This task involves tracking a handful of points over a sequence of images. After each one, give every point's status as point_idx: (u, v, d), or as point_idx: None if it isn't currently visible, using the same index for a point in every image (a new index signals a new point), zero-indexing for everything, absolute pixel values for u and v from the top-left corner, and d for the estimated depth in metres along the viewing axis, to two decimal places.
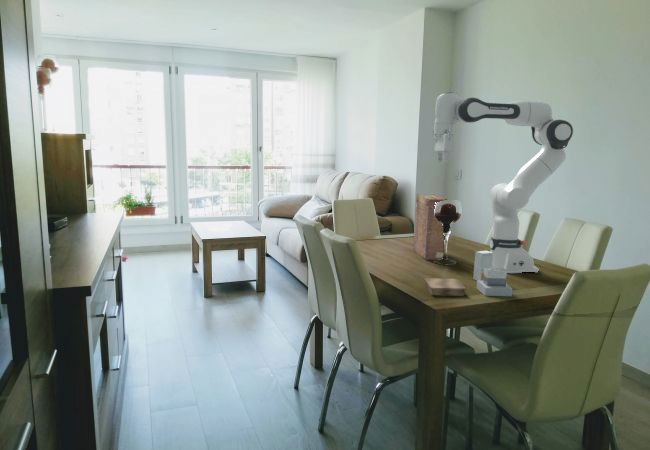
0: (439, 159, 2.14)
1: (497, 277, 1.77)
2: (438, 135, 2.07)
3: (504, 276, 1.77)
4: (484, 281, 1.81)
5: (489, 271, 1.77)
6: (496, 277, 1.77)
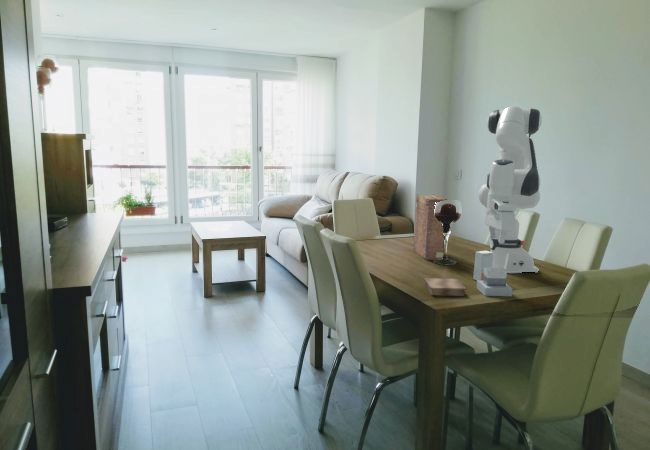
0: None
1: (497, 277, 1.77)
2: None
3: (504, 276, 1.77)
4: (484, 281, 1.81)
5: (489, 271, 1.77)
6: (496, 277, 1.77)
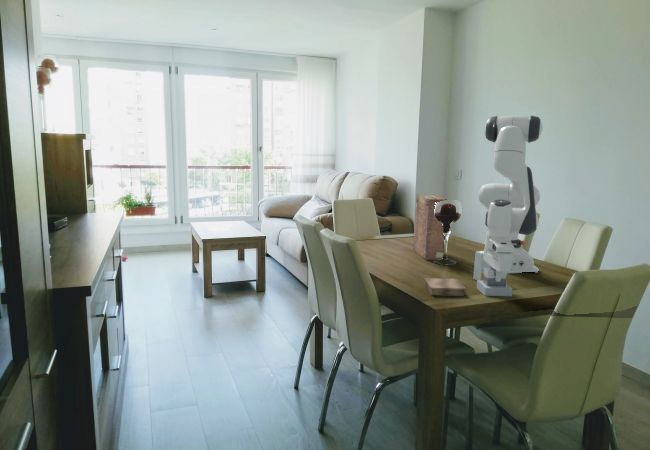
0: None
1: None
2: None
3: (504, 276, 1.77)
4: (484, 281, 1.81)
5: (489, 271, 1.77)
6: None
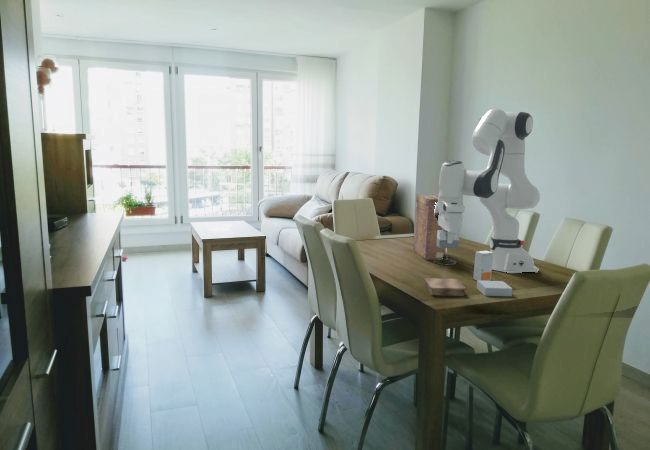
0: None
1: None
2: None
3: (456, 238, 1.75)
4: (437, 244, 1.78)
5: (441, 233, 1.74)
6: None
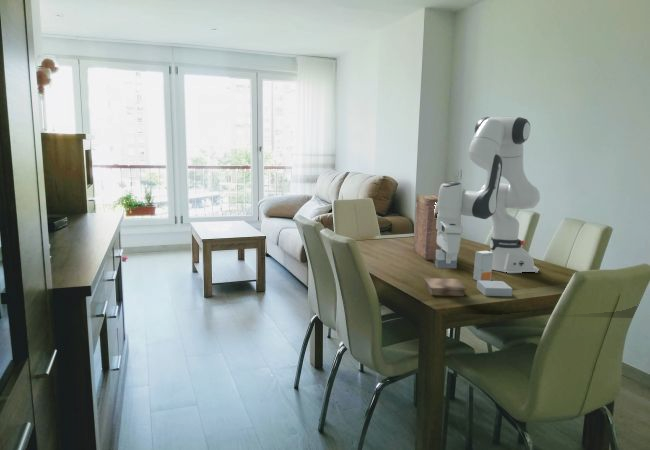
0: None
1: None
2: None
3: (455, 258, 1.76)
4: (435, 263, 1.80)
5: (439, 253, 1.76)
6: None
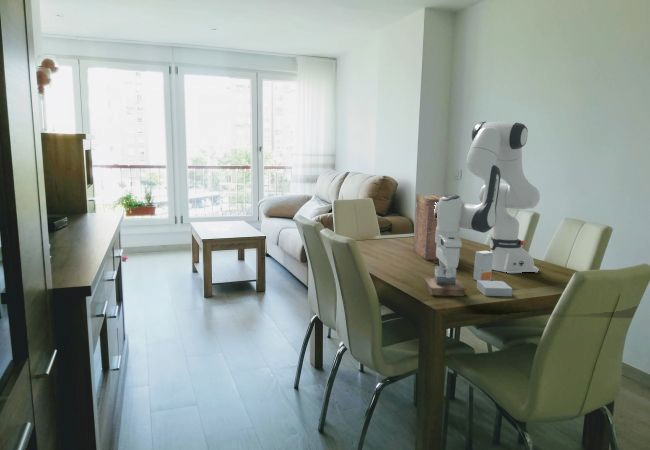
0: None
1: None
2: None
3: (454, 275, 1.77)
4: (435, 280, 1.81)
5: (438, 270, 1.77)
6: (445, 276, 1.77)
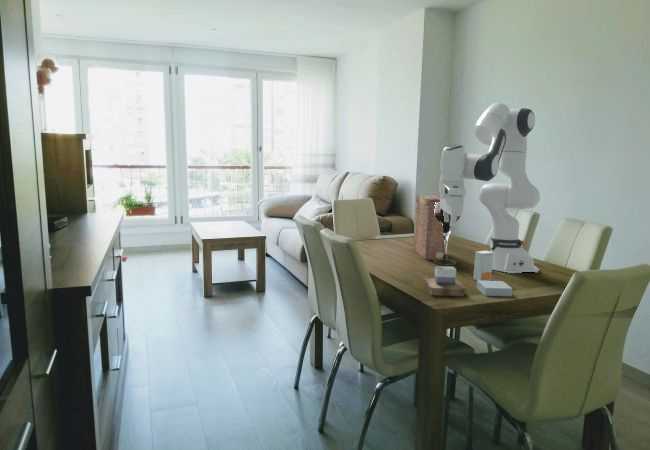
0: None
1: (447, 276, 1.77)
2: None
3: (454, 275, 1.77)
4: (435, 280, 1.81)
5: (438, 270, 1.77)
6: (445, 276, 1.77)
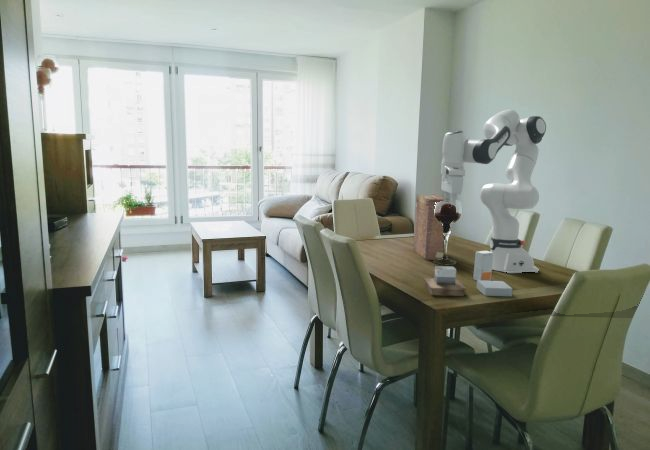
0: None
1: (447, 276, 1.77)
2: None
3: (454, 275, 1.77)
4: (435, 280, 1.81)
5: (438, 270, 1.77)
6: (445, 276, 1.77)
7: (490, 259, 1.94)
